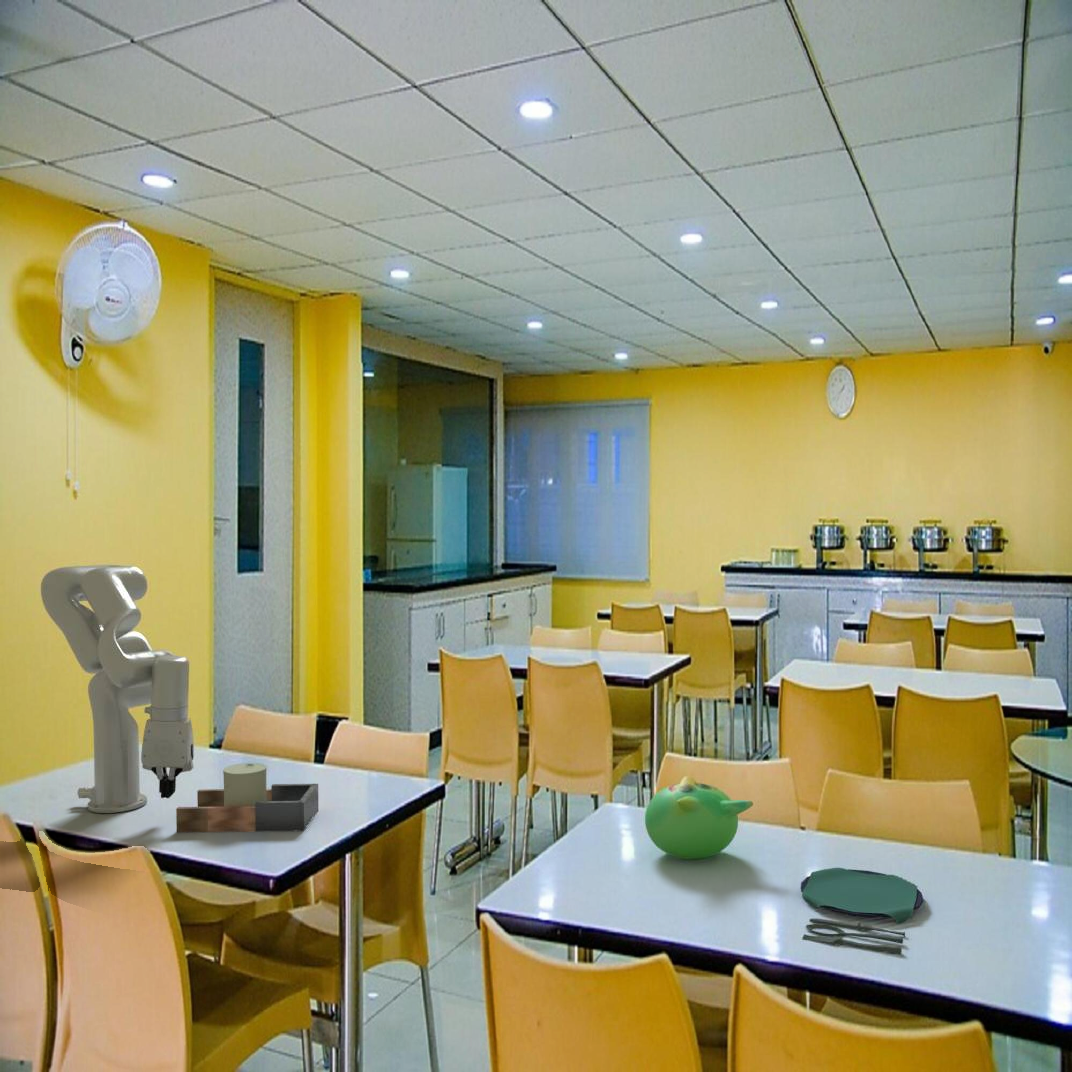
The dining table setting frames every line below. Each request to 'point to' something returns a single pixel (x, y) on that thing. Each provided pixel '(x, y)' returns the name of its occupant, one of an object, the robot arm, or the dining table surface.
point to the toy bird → (693, 819)
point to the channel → (216, 814)
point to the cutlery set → (859, 903)
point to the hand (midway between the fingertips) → (167, 795)
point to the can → (244, 784)
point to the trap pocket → (287, 808)
